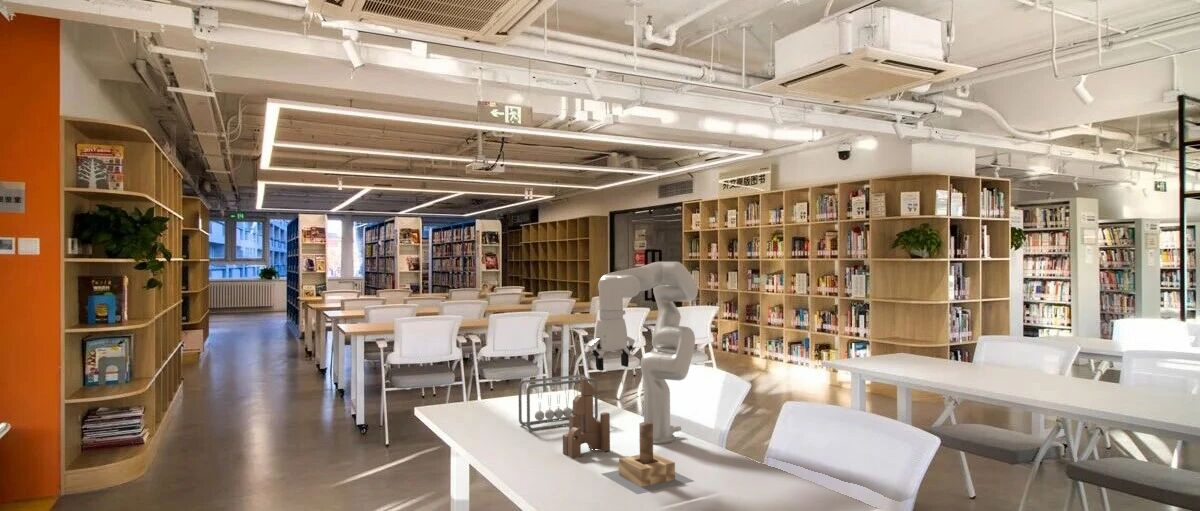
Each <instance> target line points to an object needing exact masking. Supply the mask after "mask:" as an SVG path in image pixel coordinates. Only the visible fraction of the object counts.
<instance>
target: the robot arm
mask: <svg viewBox="0 0 1200 511" xmlns="http://www.w3.org/2000/svg"><path fill="white" fill-rule="evenodd" d="M597 284H598V285H597V289H598V295H599V296H598V299H599V300H598V301H599V306H598V307H599V319H597V321H596V327H595V334H594V335H595V336H594V338H595V339H594V340H593V341H592V342H591V343H589V344H588V349H589V351H590V353H591V355H592V356H593V357H594V358H595V367H596V370H598V371H604V358H603V356H604V354H605V353H606V352H614V351H615V352H616V351H621V354H620V363H621V366H622V367H625V368H629V363H630V361H629V357H630V356H629V355H630V354H631V351H632V350H633V347H634V344H635V339H633V338H632V337H629V336H628V330H627V325H626V321H625V318H624V316H625V315H626V310H624V306H623V299H631V298H634V297H636V296H638V295H639V293H640V292H645V291H646V292H647V291H648V290H651V289H653V291H652V292H653V295H654V299H655V302H656V305H657V311H658V312H657V313H658V314H657V319H656V322H655V326H654V328H653V332H652V337H651V345H652V347H653V348H654V349H655V350H657V351H649V352H645V353H644V354H643V355H642V357H641V359H640V371H641V375H642V376H641V377H642V381H643V382H642V384H643V422H650V423H653V445H654V444H655V445H657V444H659V445H660V444H661V445H662V444H670V443H672V442H674V441H675V439H676V438H675V435H674V434H675V432H676V433H679V432H682V427H681V425H676V426H674V425H671V391H670V387H669V385H668V383H667V380H668V381H683V380H684V379H686V377H687V376H688V373H689V369H690V366H691V363H692V362H691V361H692V358H693V354H694V350H695V344H696V343H695V342H696V336H695V332H694V331H693V329H692V328H691V327H688V326H684V325H680V323H681V318H682V316H681V313H680V310H679V309H678V307H677V306H676V304H675V303H674V302H684V303H688V302H689V303H690V302H693V301H694V300H695V299H696V298H697V296H698V291H699V288H698V285H697V282H696V280H695V278H694V277H693V276H692V274H691V273H690V271H689V270H688V269H687V268H686V266H685V265H684V264H683V263H681V262H680V261H655V262H651V263H649V264H645V265H643V266H638V267H633V268H632V267H631V268H628V269H621V270H618V271H613V272H610V273H606V274H604V275H602V276H601V277H600V278H599V281H598V283H597Z"/></svg>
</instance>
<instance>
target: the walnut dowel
mask: <svg viewBox="0 0 1200 511" xmlns="http://www.w3.org/2000/svg"><path fill="white" fill-rule="evenodd" d="M638 426H639V455H640V463H642V464H644V465H645V464H650V463H653V453H654V443H653V423H650V422H644V421H643V422H640V423H639V425H638Z"/></svg>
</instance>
